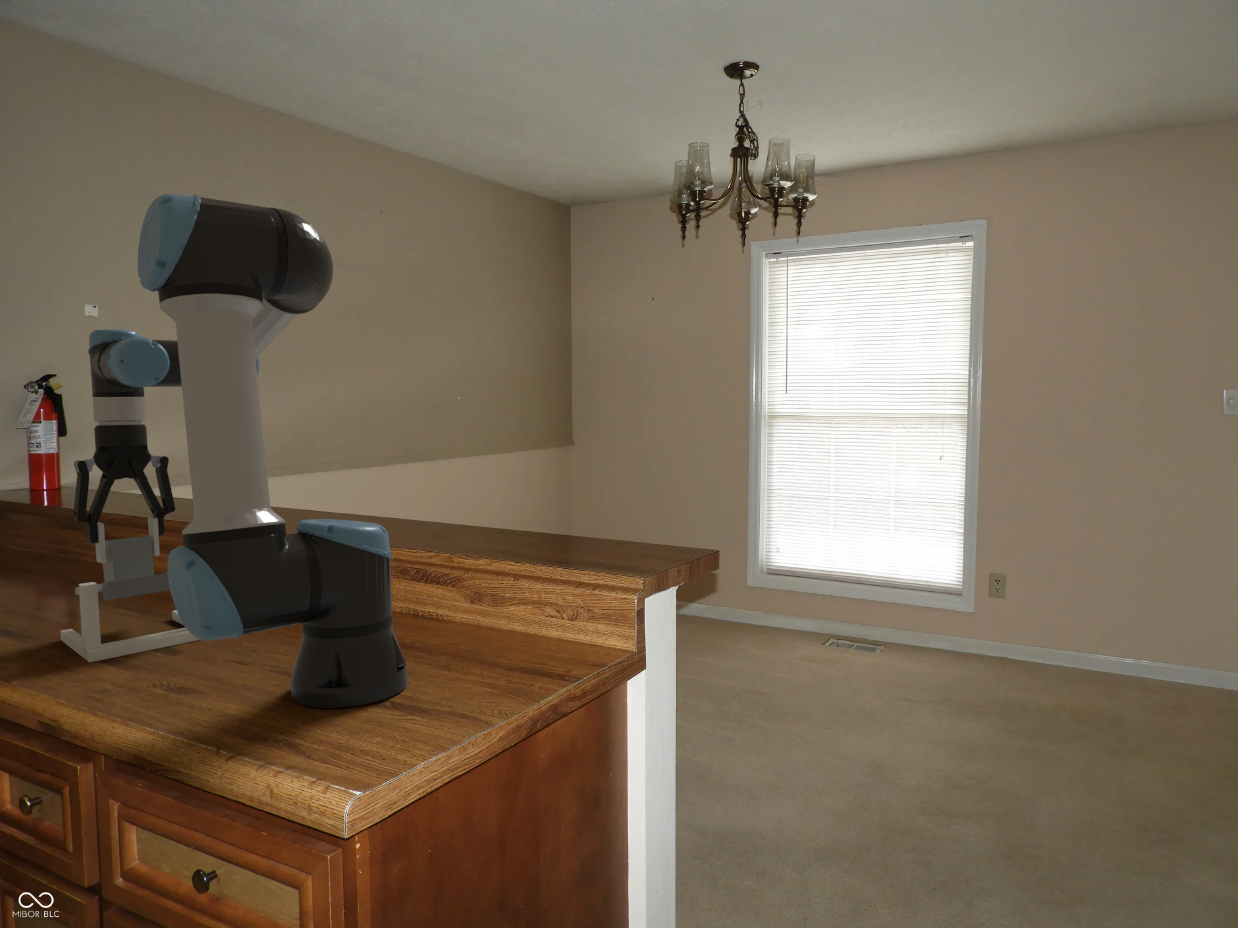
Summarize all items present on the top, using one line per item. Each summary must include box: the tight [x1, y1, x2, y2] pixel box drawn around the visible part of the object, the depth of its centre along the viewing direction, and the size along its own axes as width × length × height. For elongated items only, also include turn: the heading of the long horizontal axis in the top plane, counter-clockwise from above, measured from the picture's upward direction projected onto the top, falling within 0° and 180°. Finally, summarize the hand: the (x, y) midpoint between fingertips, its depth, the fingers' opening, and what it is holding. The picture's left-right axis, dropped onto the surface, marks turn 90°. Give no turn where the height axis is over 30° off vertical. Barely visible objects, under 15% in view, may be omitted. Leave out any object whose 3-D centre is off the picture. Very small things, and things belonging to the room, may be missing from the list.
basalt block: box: [102, 535, 155, 582], centre depth 140 cm, size 6×6×7 cm
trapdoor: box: [74, 572, 170, 601], centre depth 137 cm, size 18×14×3 cm
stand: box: [60, 581, 201, 663], centre depth 138 cm, size 18×19×12 cm
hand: (128, 558), depth 140 cm, fingers open, 7 cm apart
